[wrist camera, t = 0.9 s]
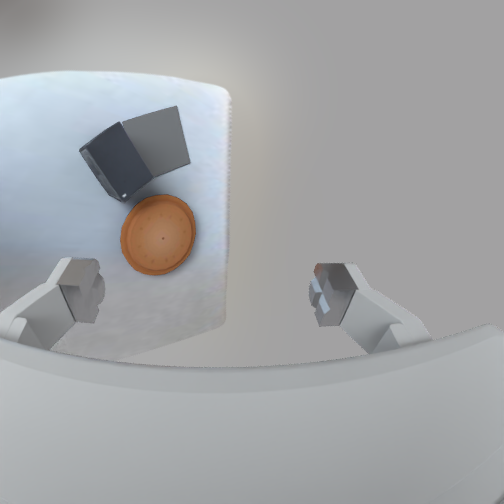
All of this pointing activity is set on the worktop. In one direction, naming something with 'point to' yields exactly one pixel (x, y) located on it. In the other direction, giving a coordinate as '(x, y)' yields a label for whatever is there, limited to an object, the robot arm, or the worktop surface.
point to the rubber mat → (159, 140)
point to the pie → (158, 234)
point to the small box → (116, 163)
